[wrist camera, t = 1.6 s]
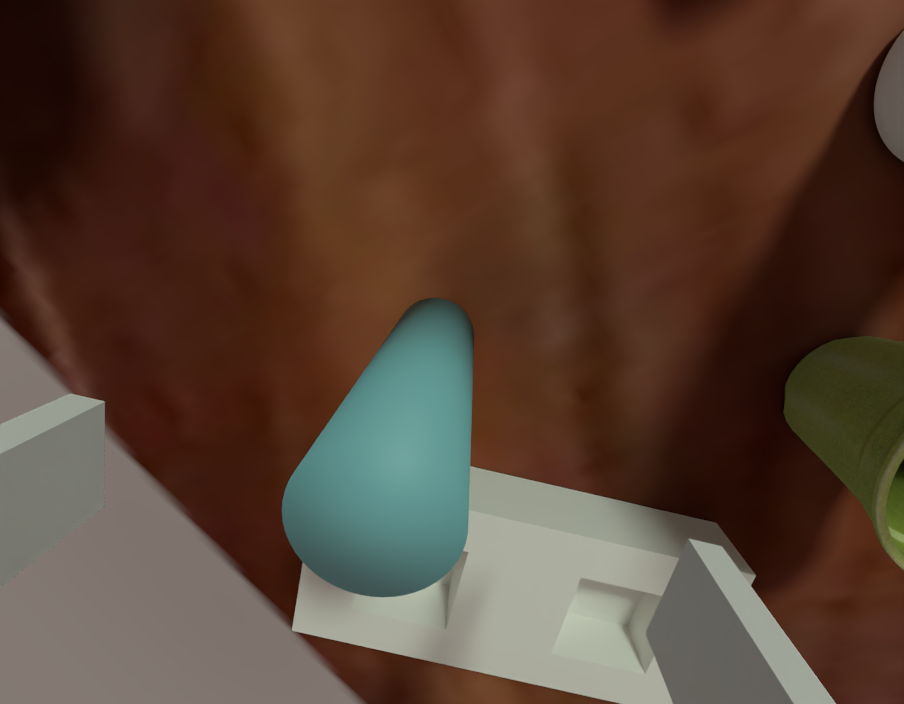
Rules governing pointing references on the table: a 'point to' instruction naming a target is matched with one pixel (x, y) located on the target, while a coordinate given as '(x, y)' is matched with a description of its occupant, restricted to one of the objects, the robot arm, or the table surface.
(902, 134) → the water bottle
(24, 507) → the robot arm
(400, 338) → the teal pin
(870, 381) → the plant pot
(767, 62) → the table surface
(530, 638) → the hole block
